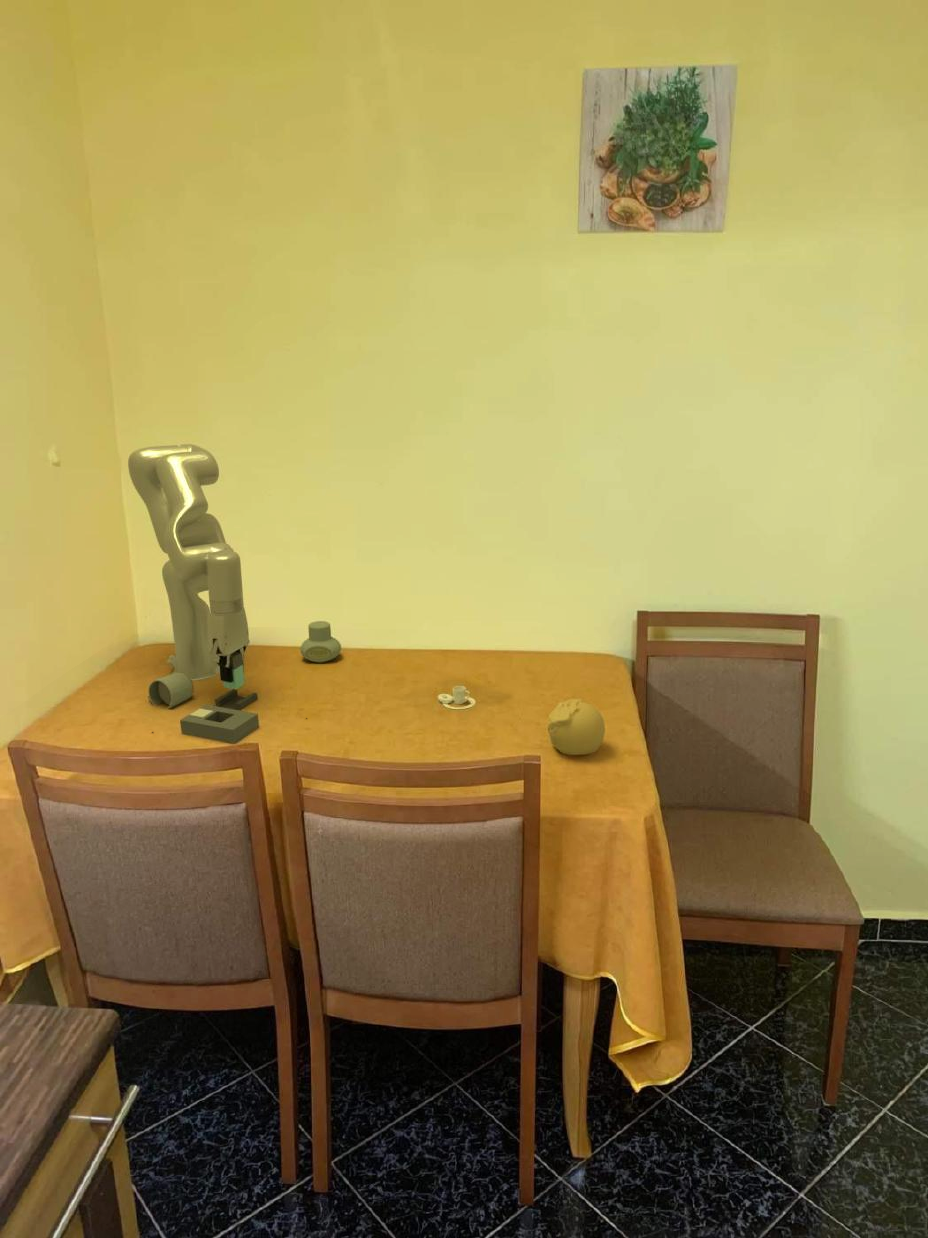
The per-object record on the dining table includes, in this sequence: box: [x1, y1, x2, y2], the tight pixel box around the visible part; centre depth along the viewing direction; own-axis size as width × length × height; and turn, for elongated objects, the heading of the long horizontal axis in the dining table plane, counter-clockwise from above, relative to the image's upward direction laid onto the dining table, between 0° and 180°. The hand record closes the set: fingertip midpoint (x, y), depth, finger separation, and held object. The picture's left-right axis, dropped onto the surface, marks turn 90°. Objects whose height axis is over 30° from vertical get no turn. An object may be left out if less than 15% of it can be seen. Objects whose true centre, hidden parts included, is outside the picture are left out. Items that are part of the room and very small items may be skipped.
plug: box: [222, 652, 246, 690], centre depth 205 cm, size 4×4×8 cm
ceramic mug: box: [147, 673, 195, 710], centre depth 207 cm, size 11×8×8 cm
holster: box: [214, 689, 259, 711], centre depth 206 cm, size 7×7×2 cm
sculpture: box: [547, 698, 606, 756], centre depth 181 cm, size 12×12×11 cm
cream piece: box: [437, 685, 477, 710], centre depth 207 cm, size 9×8×4 cm
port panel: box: [179, 704, 260, 745], centre depth 191 cm, size 14×9×4 cm, turn 68°
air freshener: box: [300, 620, 342, 664], centre depth 235 cm, size 11×8×10 cm
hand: (232, 677), depth 205 cm, fingers closed on plug, 3 cm apart
